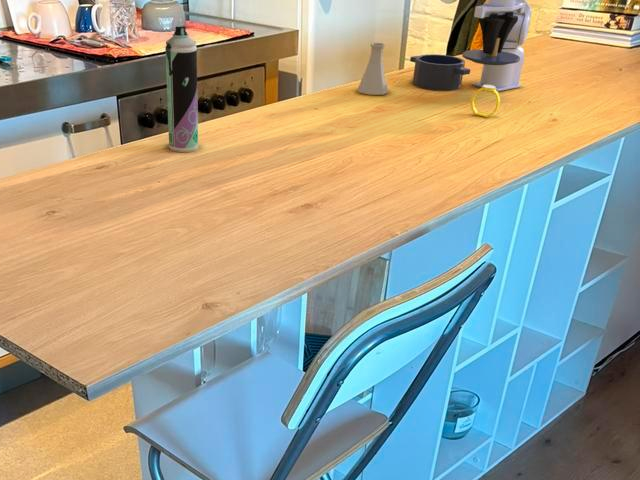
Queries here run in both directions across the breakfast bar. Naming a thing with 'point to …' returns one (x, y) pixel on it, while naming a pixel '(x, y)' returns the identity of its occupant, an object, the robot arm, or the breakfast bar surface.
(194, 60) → the spray can
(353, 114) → the breakfast bar surface
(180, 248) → the breakfast bar surface
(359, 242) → the breakfast bar surface
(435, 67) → the dark grey pot
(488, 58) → the lid
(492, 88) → the yellow ring
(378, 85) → the flask
